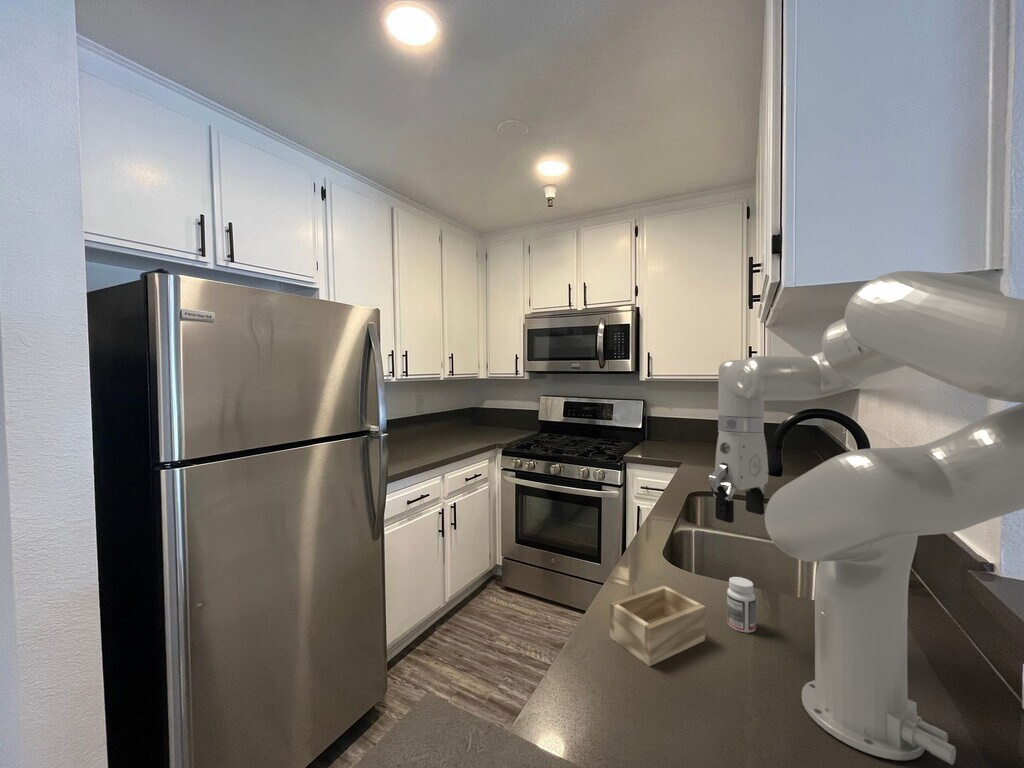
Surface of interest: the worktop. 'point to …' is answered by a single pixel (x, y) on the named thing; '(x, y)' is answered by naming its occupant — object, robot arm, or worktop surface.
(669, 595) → the open wooden box
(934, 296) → the robot arm
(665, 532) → the worktop surface
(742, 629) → the pill bottle
